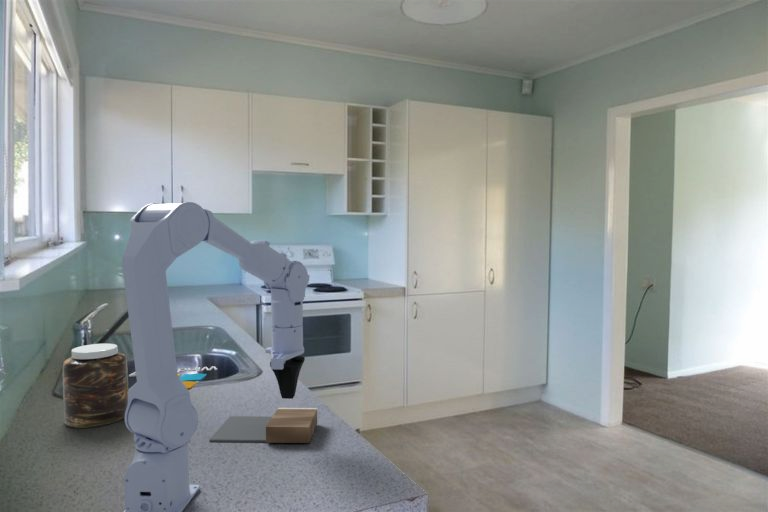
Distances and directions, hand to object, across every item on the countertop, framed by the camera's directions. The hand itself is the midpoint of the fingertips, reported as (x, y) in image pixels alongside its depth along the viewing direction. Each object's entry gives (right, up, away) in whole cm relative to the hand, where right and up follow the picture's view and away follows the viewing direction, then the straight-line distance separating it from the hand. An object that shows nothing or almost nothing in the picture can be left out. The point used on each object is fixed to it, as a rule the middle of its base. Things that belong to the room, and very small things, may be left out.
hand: (288, 397), depth 100 cm
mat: (-6, -8, +6) cm, 12 cm away
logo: (-38, -7, +40) cm, 55 cm away
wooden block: (0, -7, -1) cm, 7 cm away
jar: (-43, -8, +13) cm, 45 cm away
